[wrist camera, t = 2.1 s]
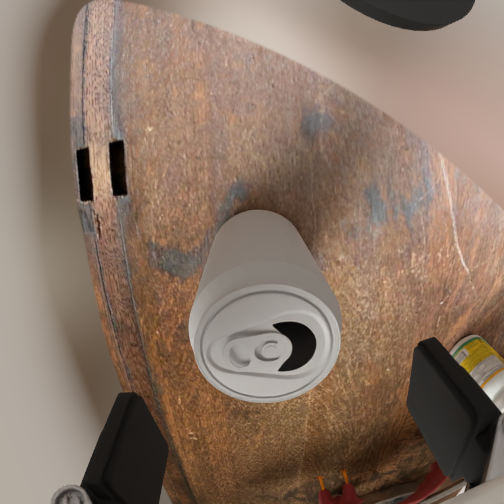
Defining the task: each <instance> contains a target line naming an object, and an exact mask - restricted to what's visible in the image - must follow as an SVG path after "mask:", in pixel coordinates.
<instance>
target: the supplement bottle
mask: <svg viewBox="0 0 504 504" xmlns="http://www.w3.org/2000/svg"><path fill="white" fill-rule="evenodd" d="M450 354H451V355H452V357H453V358H454V359H455V360H456V361H457V362H458V363H459V365H460V366H462V367H464V368H465V369H466V370H467V372H468V373H469V374H470V375H471V376H472V377H473V379H474V380H475V381H476V382H477V383H478V384H479V386H480V387H481V388H482V389H483V390H484V392H485V393H486V394H487V395H488V396H489V398H490V399H491V400H492V401H493V403H494V404H495V405H496V406H497V407H498V409H499V410H500V411H501V412H502V413H503V412H504V359H503V358H502V357H501V356H500V355H499V354H498V353H497V352H496V351H495V350H494V349H493V348H492V347H491V346H490V345H489V344H488V343H487V342H486V341H485V340H484V339H483V338H482V337H480V336H478V335H470V336H467V337H465V338H463V339H462V340H460V341H459V342H458V343H457V344H456V345H455V346H454V347H453V348H452V350H451V351H450Z"/></svg>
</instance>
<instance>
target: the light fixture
mask: <svg viewBox="0 0 504 504" xmlns="http://www.w3.org/2000/svg"><path fill="white" fill-rule="evenodd" d="M420 484H422V483H420V482H409V483H404V484H400V485H396V486H392V487H389V488H386V489H382V490H379V491H376V492H373V493H370V494H367V495H365V496H362V497H361V499H360V500H363V499H365V501H363V502H362V503H360V504H397V503H400V502H402V501H404V500H406V499H407V498H408V497H409V496H410V495H411V494H413V493H415V492H416V491H417V487H418V486H419V485H420ZM465 485H466V482H465V480H464V479H461V480H459V481H457V482H456V483H454V484H452V485H450V486H448V487H446V488H444V489H442V490H440V491H438V492H436V493H434V494H432V495H429V496H427V497H426V498H425V499H423V500H421V501H420V502H418V503H416V504H430V503H432V502H434V501H436V500H438V499H440V498H442V497H444V496H446V495H448V494H450V493H452V492H454V491H456V490H458V489H460V488H462V487H464V486H465Z"/></svg>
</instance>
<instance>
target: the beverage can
mask: <svg viewBox="0 0 504 504" xmlns="http://www.w3.org/2000/svg"><path fill="white" fill-rule="evenodd" d="M341 329H342V316H341V310H340V307H339V303H338V301H337V299H336V297H335V295H334V293H333V291H332V290H331V288H330V286H329V284H328V282H327V281H326V279H325V277H324V275H323V274H322V272H321V270H320V268H319V267H318V265H317V263H316V261H315V260H314V258H313V256H312V255H311V253H310V251H309V249H308V248H307V246H306V244H305V243H304V241H303V239H302V237H301V236H300V234H299V232H298V231H297V229H296V228H295V227H294V225H293V224H292V223H291V222H290V221H288V220H287V219H286V218H284V217H283V216H281V215H279V214H277V213H274V212H271V211H267V210H249V211H245V212H242V213H239V214H237V215H235V216H233V217H232V218H230V219H229V220H228V221H227V222H225V223H224V224H223V225H222V227H221V228H220V229H219V231H218V232H217V234H216V236H215V238H214V241H213V244H212V247H211V250H210V253H209V256H208V259H207V262H206V265H205V268H204V272H203V275H202V278H201V281H200V284H199V287H198V291H197V294H196V297H195V300H194V304H193V307H192V310H191V314H190V318H189V337H190V342H191V345H192V348H193V350H194V355H195V359H196V362H197V365H198V367H199V369H200V371H201V372H202V374H203V375H204V377H205V378H206V379H207V380H208V381H209V382H210V383H211V384H212V385H213V386H215V387H216V388H217V389H219V390H220V391H222V392H223V393H225V394H227V395H229V396H232V397H234V398H237V399H240V400H244V401H249V402H257V403H271V402H279V401H284V400H288V399H291V398H294V397H297V396H299V395H301V394H304V393H306V392H307V391H309V390H311V389H312V388H314V387H315V386H316V385H318V384H319V383H320V382H321V381H322V380H323V379H324V378H325V377H326V376H327V375H328V373H329V372H330V370H331V369H332V367H333V366H334V364H335V362H336V360H337V358H338V355H339V351H340V345H341Z"/></svg>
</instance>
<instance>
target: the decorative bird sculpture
mask: <svg viewBox="0 0 504 504" xmlns="http://www.w3.org/2000/svg"><path fill="white" fill-rule="evenodd" d="M430 467H431V469H432V471H431V472H430V473H428V474H427V475H426V476H425V481H424V482H423V483H422V484H420V485H419V486H418V487H417V491H416V492H415V493H413V494H411V495H410V496H409V497H408V498H407V499H406V500H404V501H402V502H400V503H397V504H416V503H418V502H420V501H421V500H423V499H425V498H426V497H427V496H428V495H430V494H431V493H433V492H434V491H435V490H436V489H437V488H438V487H439V486H440V485H441V484H442V483H443V482H444V481H445V480H446V479H447V478H448V477H446V476H445V475H444V474H443V472H442V470H441V469H440V467H439V465H438V463H437V461H436V462H434V463H433V464H432V465H431V466H430ZM346 471H349V469H348V470H344V469H343V470H342V471H340V472H343V475H344V478H345V482H346V483H344V485H343V492H342V496H339V495H337V496H336V497H335V498H333V497H332V496H331V494H330V492H329V491H328V490H327V489H325V487H324V483H323V479H322V478H323V476H319V477H317V478H319V481H320V484H321V487H322V490H321V491H320V492H319V504H360V503H362V502H363V501H365V499H363V500H360V499H361V497H357V494H356V492H355V489H354V487H353V485H352V484H351V483H349V482H348V478H347V474H346ZM337 472H338V471H337ZM340 472H339V473H340ZM319 475H320V474H319ZM324 477H325V476H324ZM317 478H314V479H317Z"/></svg>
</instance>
